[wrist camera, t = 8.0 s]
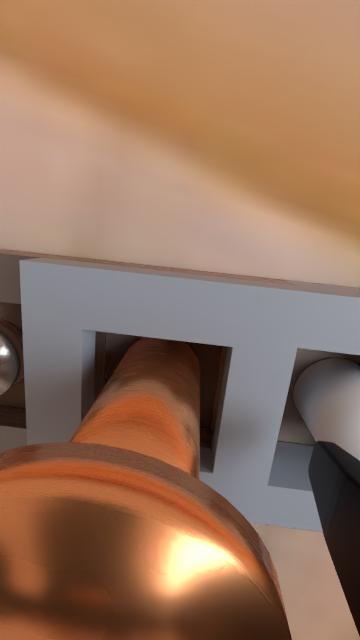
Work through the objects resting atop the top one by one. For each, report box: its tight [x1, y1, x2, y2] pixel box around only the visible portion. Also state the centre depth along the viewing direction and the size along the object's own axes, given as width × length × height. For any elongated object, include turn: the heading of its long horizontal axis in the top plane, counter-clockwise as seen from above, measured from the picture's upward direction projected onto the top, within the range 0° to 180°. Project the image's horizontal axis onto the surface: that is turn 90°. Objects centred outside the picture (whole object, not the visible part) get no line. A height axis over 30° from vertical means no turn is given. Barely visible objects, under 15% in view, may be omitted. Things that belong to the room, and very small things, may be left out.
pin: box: [0, 337, 292, 640], centre depth 8 cm, size 5×5×8 cm
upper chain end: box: [19, 258, 360, 533], centre depth 10 cm, size 8×14×2 cm, turn 84°
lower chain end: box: [0, 249, 294, 453], centre depth 11 cm, size 8×14×1 cm, turn 84°
